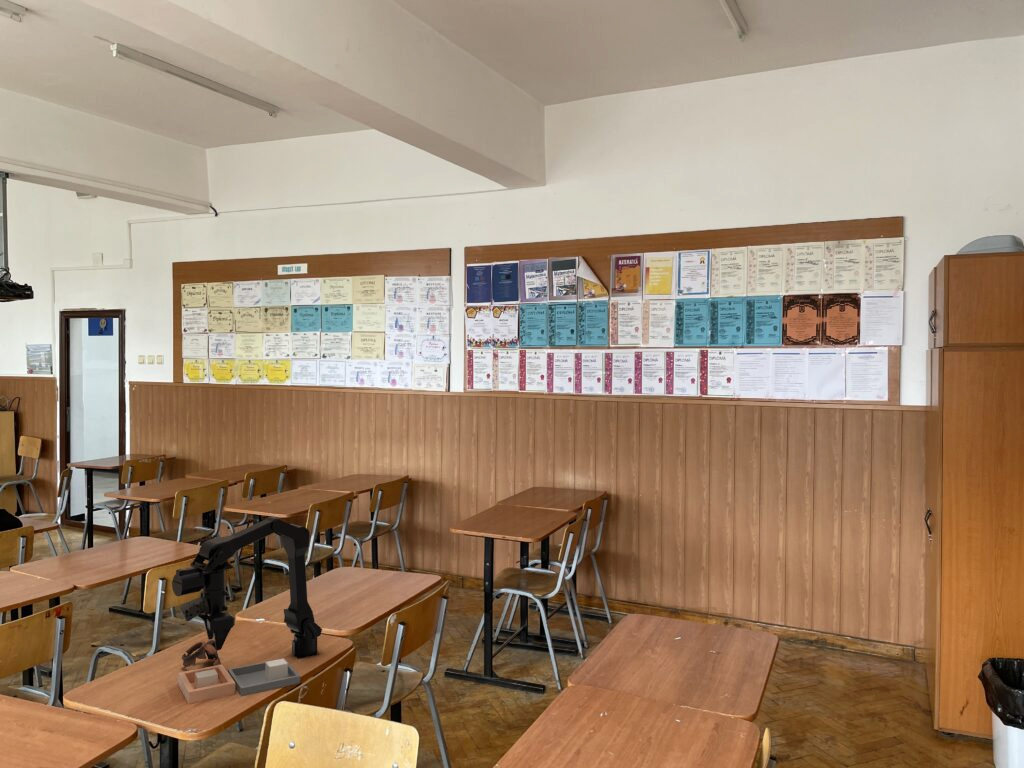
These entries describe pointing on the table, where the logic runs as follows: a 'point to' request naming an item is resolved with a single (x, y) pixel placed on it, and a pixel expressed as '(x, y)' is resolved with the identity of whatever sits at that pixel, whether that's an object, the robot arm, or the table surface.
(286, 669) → the off-white rectangular prism
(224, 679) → the terracotta dish
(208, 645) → the brown curved piece
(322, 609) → the table surface
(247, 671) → the parts tray
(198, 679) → the cream rectangular block
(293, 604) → the robot arm
